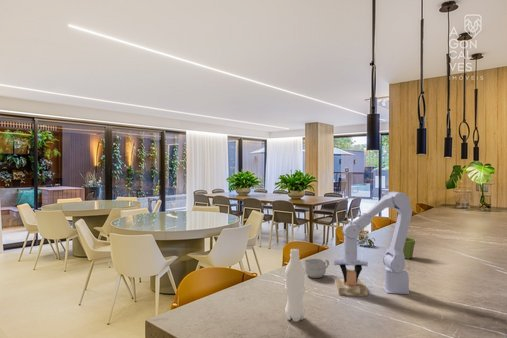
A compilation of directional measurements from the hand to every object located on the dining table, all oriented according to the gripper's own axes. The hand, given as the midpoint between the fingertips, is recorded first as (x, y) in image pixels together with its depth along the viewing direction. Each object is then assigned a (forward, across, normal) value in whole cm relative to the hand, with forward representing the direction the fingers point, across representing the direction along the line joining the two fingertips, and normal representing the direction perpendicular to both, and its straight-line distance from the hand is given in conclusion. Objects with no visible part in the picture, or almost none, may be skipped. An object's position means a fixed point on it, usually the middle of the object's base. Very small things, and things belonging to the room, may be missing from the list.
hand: (350, 281), depth 143 cm
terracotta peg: (+3, 0, 0) cm, 3 cm away
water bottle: (+4, -25, -30) cm, 39 cm away
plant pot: (+4, +43, +58) cm, 72 cm away
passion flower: (+4, +25, +87) cm, 90 cm away
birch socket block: (+4, 0, 0) cm, 4 cm away
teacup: (+4, -13, +18) cm, 23 cm away
